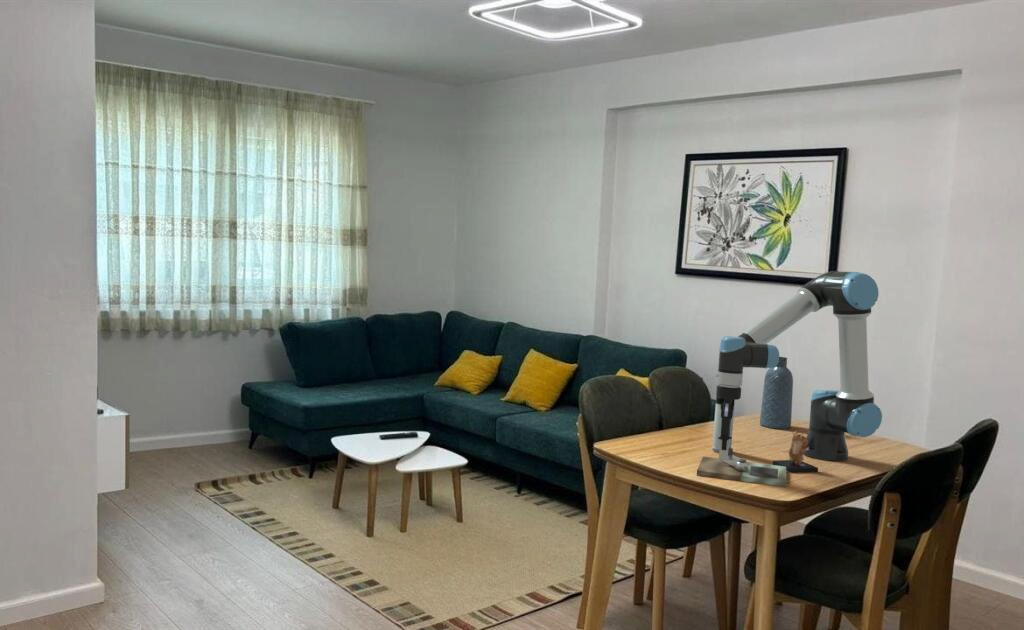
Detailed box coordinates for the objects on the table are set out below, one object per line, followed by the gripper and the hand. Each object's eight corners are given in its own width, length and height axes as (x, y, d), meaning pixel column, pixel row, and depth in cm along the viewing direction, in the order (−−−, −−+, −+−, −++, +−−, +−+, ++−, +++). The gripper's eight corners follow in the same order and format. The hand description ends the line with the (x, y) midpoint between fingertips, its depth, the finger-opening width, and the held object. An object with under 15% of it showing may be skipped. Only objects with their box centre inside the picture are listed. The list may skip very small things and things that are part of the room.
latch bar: (750, 471, 259) (751, 457, 259) (739, 471, 259) (740, 457, 258) (731, 460, 272) (732, 447, 271) (721, 460, 271) (722, 447, 271)
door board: (785, 471, 269) (786, 458, 269) (785, 486, 250) (786, 473, 250) (702, 460, 277) (703, 448, 277) (696, 475, 258) (697, 462, 258)
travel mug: (732, 454, 289) (736, 396, 287) (712, 452, 290) (716, 394, 289) (731, 450, 295) (735, 393, 294) (712, 448, 296) (716, 392, 295)
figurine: (817, 472, 271) (820, 435, 270) (790, 473, 268) (793, 435, 267) (798, 464, 280) (801, 428, 279) (772, 464, 277) (775, 428, 276)
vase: (761, 427, 339) (767, 358, 336) (757, 422, 351) (763, 354, 348) (793, 430, 337) (798, 360, 335) (788, 424, 349) (793, 356, 346)
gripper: (718, 382, 273) (712, 453, 275) (715, 386, 261) (709, 462, 262) (742, 384, 271) (736, 456, 272) (740, 389, 259) (734, 465, 260)
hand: (723, 459), depth 267 cm, fingers closed
